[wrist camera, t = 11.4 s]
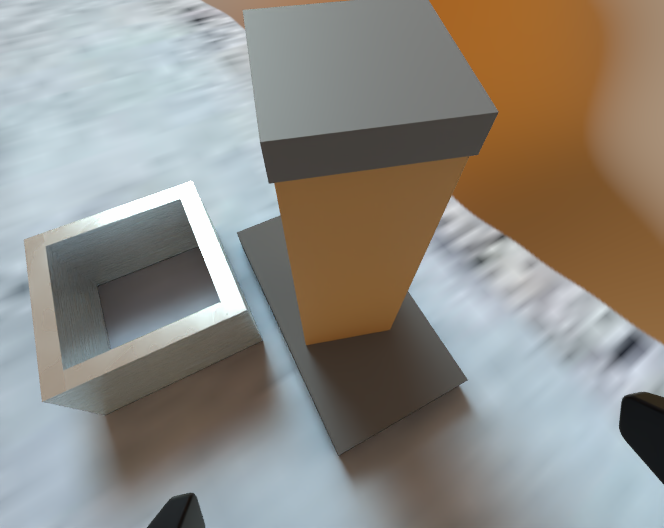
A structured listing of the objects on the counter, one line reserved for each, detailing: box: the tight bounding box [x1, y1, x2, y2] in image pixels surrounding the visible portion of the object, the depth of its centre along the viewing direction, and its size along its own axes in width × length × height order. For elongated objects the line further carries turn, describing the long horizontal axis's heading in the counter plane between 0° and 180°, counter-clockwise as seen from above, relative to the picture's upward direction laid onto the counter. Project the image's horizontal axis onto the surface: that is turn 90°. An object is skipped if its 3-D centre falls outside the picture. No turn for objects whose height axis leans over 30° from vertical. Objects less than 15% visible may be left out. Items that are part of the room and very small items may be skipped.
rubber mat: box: [237, 215, 467, 456], centre depth 18 cm, size 12×6×1 cm, turn 27°
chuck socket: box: [24, 181, 263, 415], centre depth 17 cm, size 8×8×4 cm
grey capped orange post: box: [243, 0, 498, 345], centre depth 12 cm, size 4×4×12 cm
